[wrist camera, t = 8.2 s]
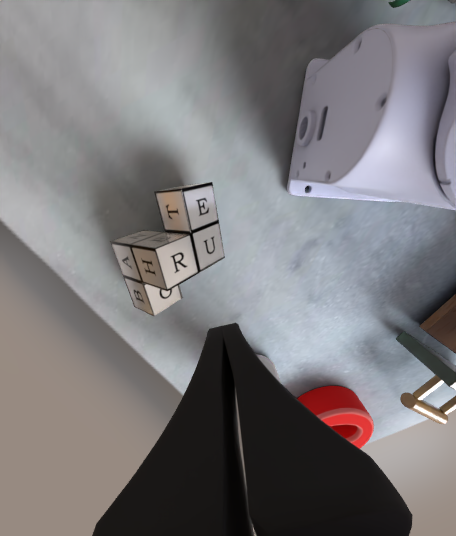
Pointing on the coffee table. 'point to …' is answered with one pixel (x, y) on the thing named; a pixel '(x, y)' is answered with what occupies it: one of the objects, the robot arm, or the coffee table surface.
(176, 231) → the building blocks
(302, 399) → the decorative ornament
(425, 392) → the drawer
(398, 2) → the toy vehicle
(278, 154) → the coffee table surface
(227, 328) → the robot arm
